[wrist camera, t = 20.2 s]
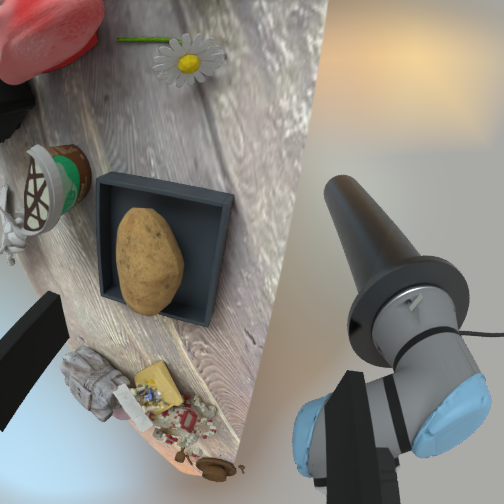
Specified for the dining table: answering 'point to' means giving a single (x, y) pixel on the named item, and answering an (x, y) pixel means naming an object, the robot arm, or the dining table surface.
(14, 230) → the fairy figurine
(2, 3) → the toy
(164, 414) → the voxel character
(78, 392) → the figurine
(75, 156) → the food container
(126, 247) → the potato
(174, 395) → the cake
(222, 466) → the place setting
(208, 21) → the dining table surface
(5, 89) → the camera
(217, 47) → the decorative flower
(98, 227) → the tray
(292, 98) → the dining table surface
